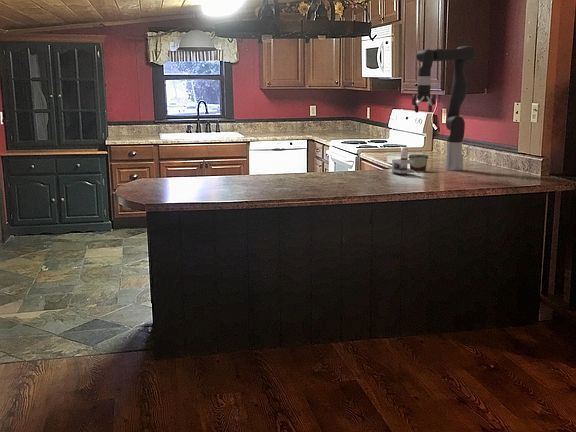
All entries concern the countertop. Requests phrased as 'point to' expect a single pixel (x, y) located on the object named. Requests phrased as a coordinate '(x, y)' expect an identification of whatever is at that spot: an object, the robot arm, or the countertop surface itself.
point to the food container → (418, 162)
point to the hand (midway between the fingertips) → (423, 112)
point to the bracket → (397, 165)
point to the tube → (404, 159)
